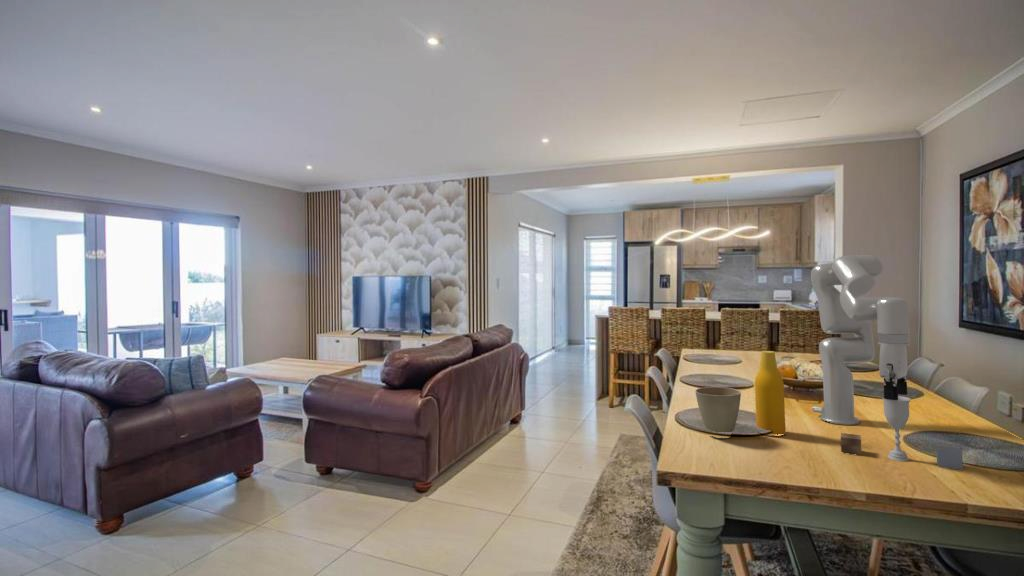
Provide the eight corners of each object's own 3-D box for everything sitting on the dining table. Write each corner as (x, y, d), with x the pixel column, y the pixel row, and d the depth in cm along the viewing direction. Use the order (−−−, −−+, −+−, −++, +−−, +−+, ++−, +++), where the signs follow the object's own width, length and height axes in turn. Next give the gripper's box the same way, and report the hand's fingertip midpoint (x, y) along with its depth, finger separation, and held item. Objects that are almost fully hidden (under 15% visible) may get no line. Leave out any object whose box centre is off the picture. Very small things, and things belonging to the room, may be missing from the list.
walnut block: (841, 453, 149) (840, 437, 149) (841, 448, 153) (841, 432, 153) (861, 455, 146) (860, 439, 146) (861, 451, 150) (860, 435, 150)
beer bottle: (779, 438, 164) (776, 354, 165) (751, 433, 171) (748, 352, 171) (789, 432, 171) (786, 351, 171) (762, 427, 177) (759, 349, 178)
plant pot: (737, 430, 175) (735, 386, 175) (747, 443, 161) (745, 396, 161) (694, 429, 179) (692, 386, 179) (700, 441, 164) (698, 395, 164)
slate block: (938, 467, 136) (938, 449, 136) (936, 461, 140) (936, 444, 140) (962, 470, 133) (962, 452, 133) (960, 464, 137) (959, 447, 137)
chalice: (918, 463, 139) (916, 401, 139) (892, 462, 140) (889, 400, 140) (903, 454, 146) (901, 395, 146) (878, 453, 147) (876, 395, 147)
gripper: (886, 336, 151) (888, 390, 151) (869, 341, 141) (871, 399, 141) (917, 337, 146) (919, 394, 145) (901, 343, 135) (903, 403, 135)
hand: (895, 396), depth 143 cm, fingers open, 9 cm apart
